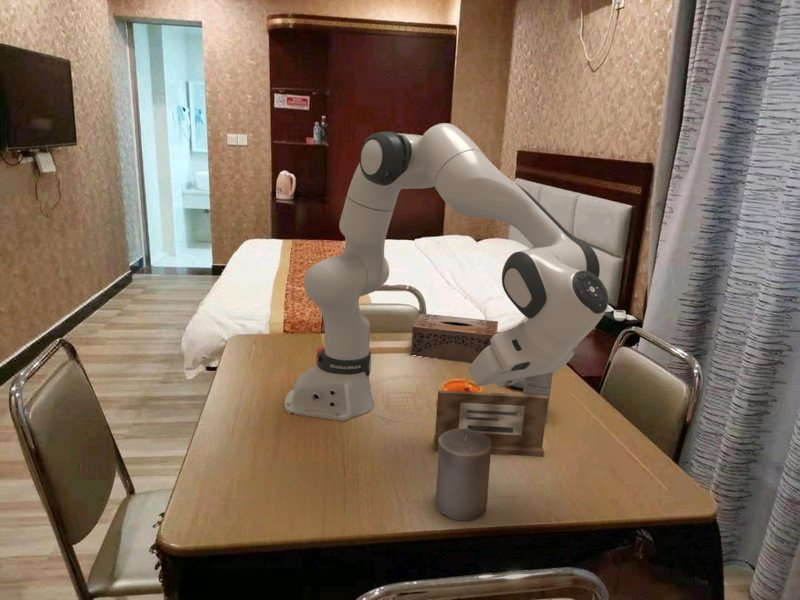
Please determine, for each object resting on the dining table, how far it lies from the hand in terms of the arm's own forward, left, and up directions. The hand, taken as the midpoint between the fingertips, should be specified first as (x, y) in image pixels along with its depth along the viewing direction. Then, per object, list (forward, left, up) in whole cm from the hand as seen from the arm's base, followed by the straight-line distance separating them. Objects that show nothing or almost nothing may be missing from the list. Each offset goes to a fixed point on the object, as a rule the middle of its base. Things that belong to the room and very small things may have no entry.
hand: (502, 383), depth 111 cm
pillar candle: (-7, -7, -22) cm, 25 cm away
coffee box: (+15, +32, -22) cm, 42 cm away
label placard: (+1, +14, -22) cm, 26 cm away
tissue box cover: (-3, +73, -23) cm, 76 cm away
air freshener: (+15, +50, -22) cm, 57 cm away
